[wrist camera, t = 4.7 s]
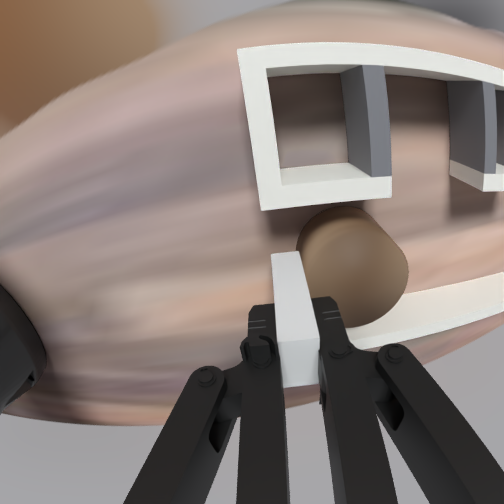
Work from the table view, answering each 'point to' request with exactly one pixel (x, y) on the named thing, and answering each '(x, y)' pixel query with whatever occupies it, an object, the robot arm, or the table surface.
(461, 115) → the box
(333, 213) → the brown rounded cylinder
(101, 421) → the table surface
